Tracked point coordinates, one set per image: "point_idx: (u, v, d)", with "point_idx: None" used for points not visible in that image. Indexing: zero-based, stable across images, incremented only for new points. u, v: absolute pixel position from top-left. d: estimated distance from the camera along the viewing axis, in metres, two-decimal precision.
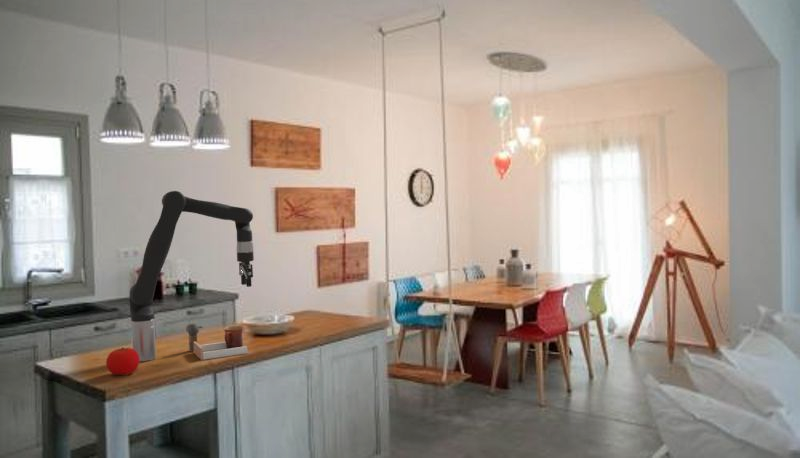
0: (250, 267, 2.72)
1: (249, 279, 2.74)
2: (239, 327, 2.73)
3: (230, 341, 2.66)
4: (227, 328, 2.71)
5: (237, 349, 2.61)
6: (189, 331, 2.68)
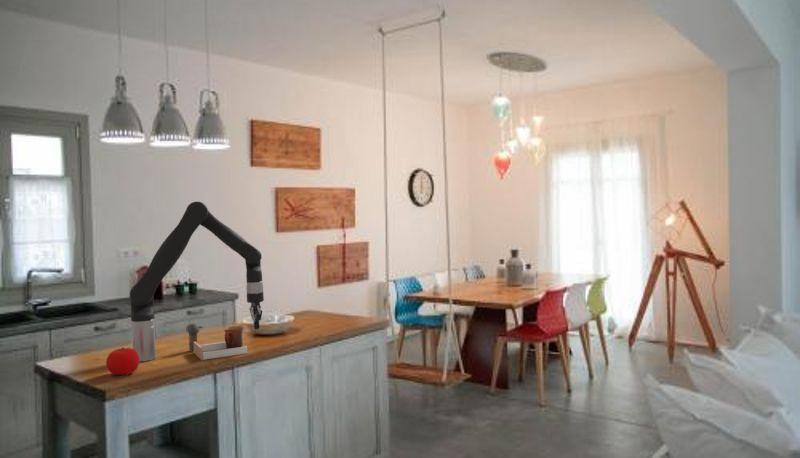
0: (260, 313, 2.68)
1: (257, 322, 2.72)
2: (239, 327, 2.73)
3: (230, 341, 2.66)
4: (227, 328, 2.71)
5: (237, 349, 2.61)
6: (189, 331, 2.68)
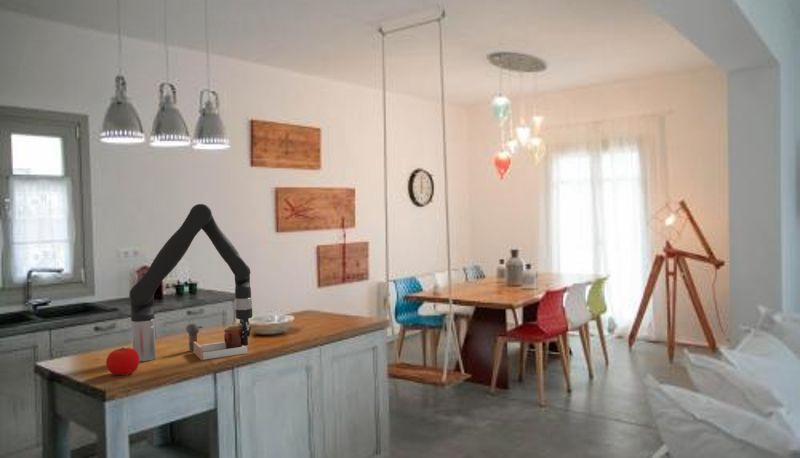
0: (248, 330, 2.66)
1: (245, 338, 2.70)
2: (239, 327, 2.73)
3: (230, 341, 2.66)
4: (226, 328, 2.71)
5: (237, 349, 2.61)
6: (189, 331, 2.68)
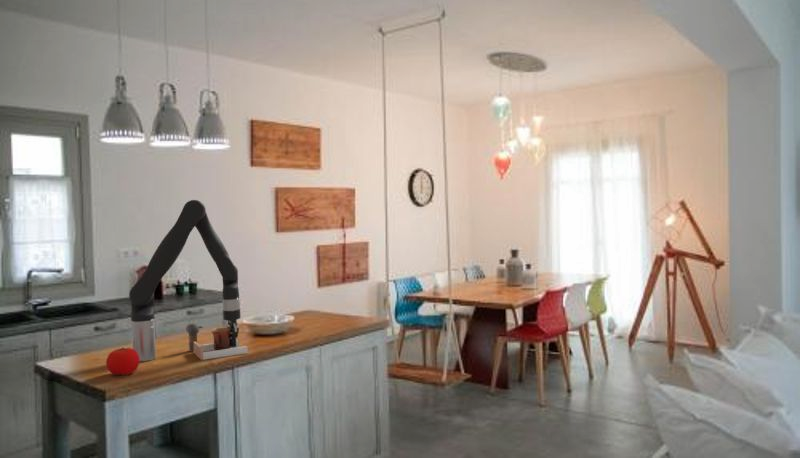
0: (236, 331, 2.63)
1: (234, 339, 2.67)
2: (226, 329, 2.70)
3: (219, 343, 2.63)
4: (214, 330, 2.67)
5: (237, 349, 2.61)
6: (189, 331, 2.68)
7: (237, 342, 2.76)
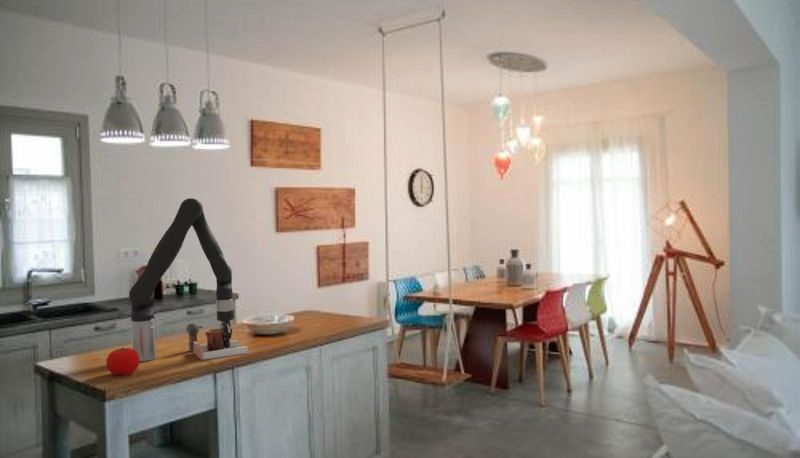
0: (230, 332, 2.62)
1: (227, 340, 2.65)
2: (219, 329, 2.68)
3: (213, 344, 2.61)
4: (207, 331, 2.65)
5: (237, 349, 2.61)
6: (189, 331, 2.68)
7: (237, 342, 2.76)
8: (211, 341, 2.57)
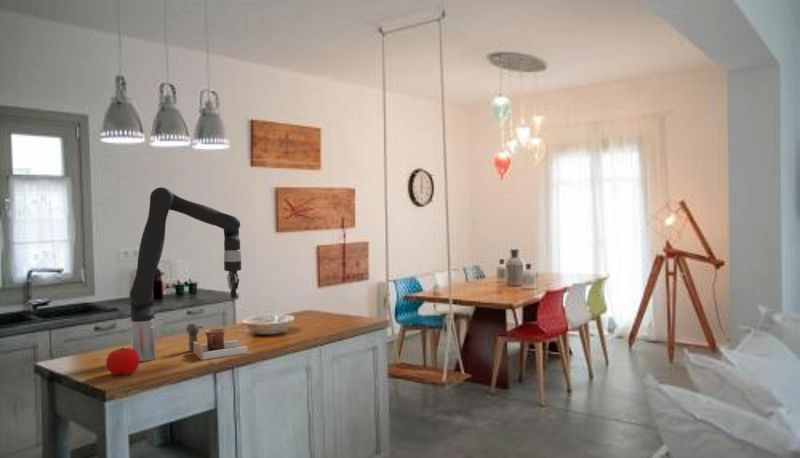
0: (236, 282, 2.65)
1: (234, 291, 2.69)
2: (219, 330, 2.68)
3: (213, 344, 2.61)
4: (207, 331, 2.65)
5: (237, 349, 2.61)
6: (189, 331, 2.68)
7: (237, 342, 2.76)
8: (211, 341, 2.57)
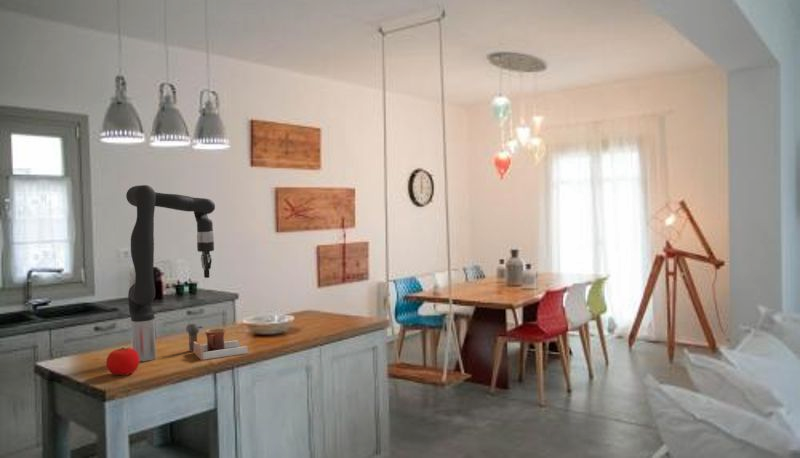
0: (209, 262, 2.77)
1: (207, 270, 2.80)
2: (219, 330, 2.68)
3: (213, 344, 2.61)
4: (207, 331, 2.65)
5: (237, 349, 2.61)
6: (189, 331, 2.68)
7: (237, 342, 2.76)
8: (211, 341, 2.57)
